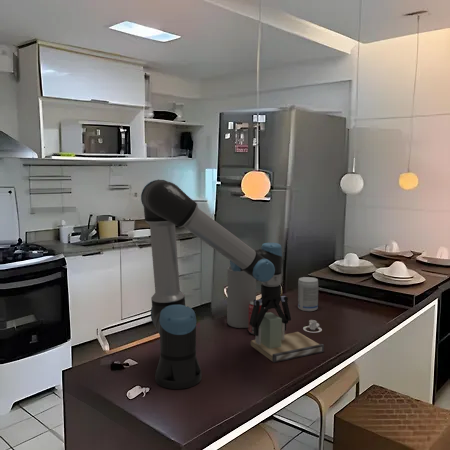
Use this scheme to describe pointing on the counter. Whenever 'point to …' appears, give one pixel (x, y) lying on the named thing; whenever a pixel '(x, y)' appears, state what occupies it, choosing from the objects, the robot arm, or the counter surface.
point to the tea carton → (271, 330)
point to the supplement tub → (308, 294)
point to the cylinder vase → (239, 297)
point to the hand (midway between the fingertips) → (270, 341)
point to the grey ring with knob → (312, 326)
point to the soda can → (251, 329)
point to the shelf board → (290, 347)
